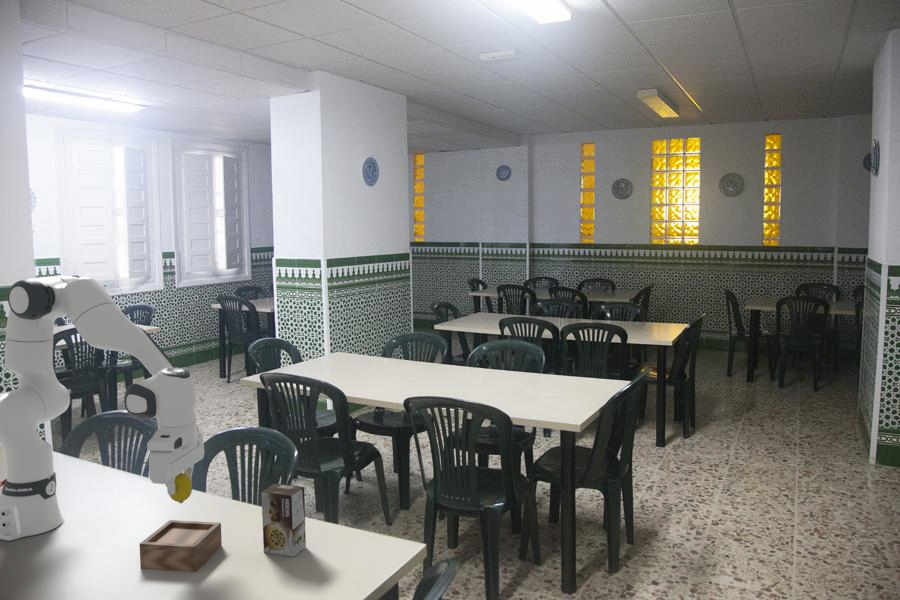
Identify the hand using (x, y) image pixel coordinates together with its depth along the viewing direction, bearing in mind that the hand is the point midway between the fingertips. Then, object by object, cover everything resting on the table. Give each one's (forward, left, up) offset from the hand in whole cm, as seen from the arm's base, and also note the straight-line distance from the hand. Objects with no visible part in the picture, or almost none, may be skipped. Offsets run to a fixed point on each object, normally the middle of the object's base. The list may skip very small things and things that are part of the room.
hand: (179, 488), depth 172 cm
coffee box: (+24, +7, -18) cm, 31 cm away
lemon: (0, 0, -4) cm, 4 cm away
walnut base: (0, 0, -18) cm, 18 cm away
